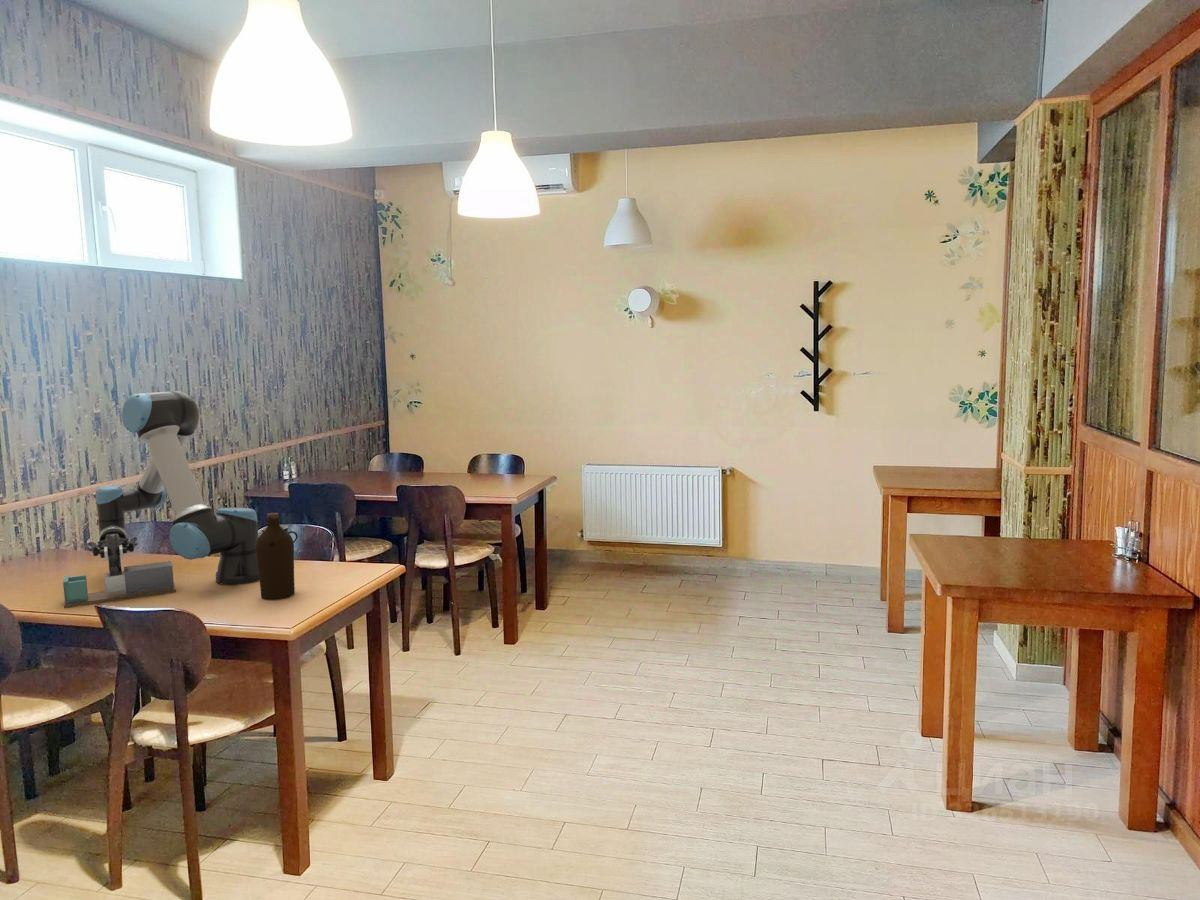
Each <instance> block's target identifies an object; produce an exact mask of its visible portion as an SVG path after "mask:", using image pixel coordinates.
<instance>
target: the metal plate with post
mask: <svg viewBox="0 0 1200 900" xmlns="http://www.w3.org/2000/svg"><path fill="white" fill-rule="evenodd" d="M106 541H107V551H108V560H107V562H108V571H109V572H108V573H104V581H105V591H106V593H110V592H117V591H124V590H126V585H125V574H124V570H122V562H121V559H122V558H120V548H119V536H118V534H108V535H106Z"/></svg>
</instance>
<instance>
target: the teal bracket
mask: <svg viewBox="0 0 1200 900" xmlns="http://www.w3.org/2000/svg"><path fill="white" fill-rule="evenodd" d="M87 582H88V581H87V574H83V575H74V576H70V575H69V574H68V575H63V581H62V583H63V584H62V585H63V593H64V595H63V596H64V600H65V604H66V603H73V602H80V601H87V598H88V593H89V592H88V583H87Z"/></svg>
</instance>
